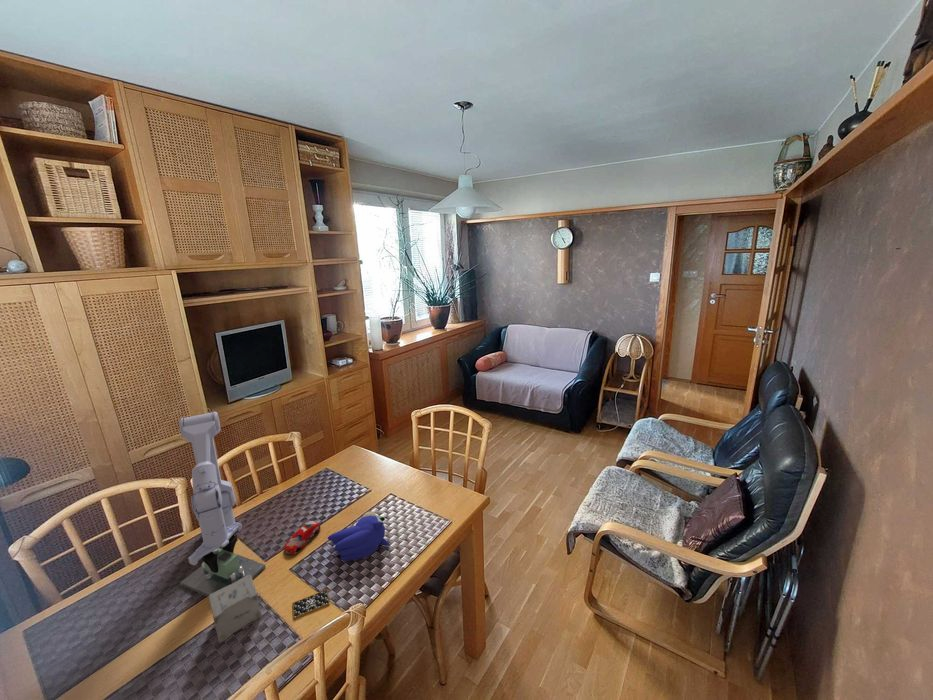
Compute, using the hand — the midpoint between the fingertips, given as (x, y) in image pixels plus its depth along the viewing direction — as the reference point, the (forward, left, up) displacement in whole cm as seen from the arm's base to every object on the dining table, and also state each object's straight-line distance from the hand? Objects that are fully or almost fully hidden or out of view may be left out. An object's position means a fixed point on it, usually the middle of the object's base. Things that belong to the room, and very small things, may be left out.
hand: (222, 565), depth 108 cm
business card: (+31, +1, -5) cm, 31 cm away
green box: (0, 0, -2) cm, 2 cm away
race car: (+12, +19, -4) cm, 23 cm away
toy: (+33, +23, -4) cm, 40 cm away
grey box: (+17, -9, -4) cm, 20 cm away
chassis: (0, 0, -4) cm, 4 cm away
